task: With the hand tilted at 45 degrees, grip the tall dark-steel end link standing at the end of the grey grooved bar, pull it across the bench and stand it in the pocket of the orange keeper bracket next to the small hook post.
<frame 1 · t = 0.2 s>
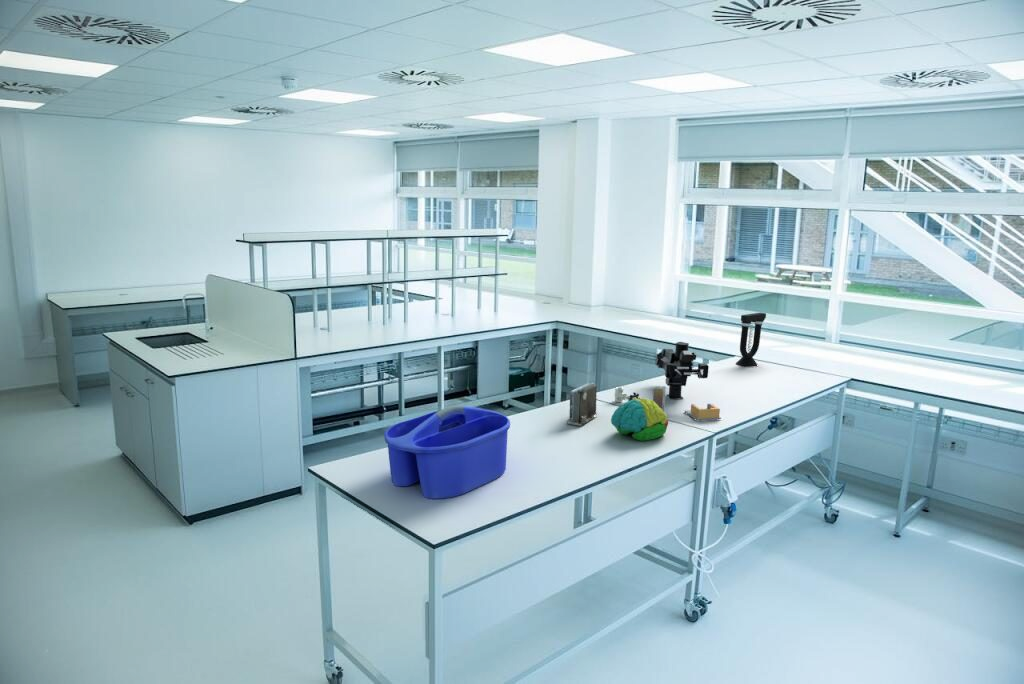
hand: (691, 376, 280), 17 cm above the table, tool horizontal, fingers open, 9 cm apart
keeper bracket: (702, 416, 279), on the table
end link: (657, 416, 278), on the table
grey grooved bar: (641, 407, 291), on the table
caddy: (449, 475, 214), on the table
brain model: (638, 436, 254), on the table
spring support: (748, 364, 379), on the table
valve: (624, 404, 297), on the table
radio: (581, 419, 275), on the table
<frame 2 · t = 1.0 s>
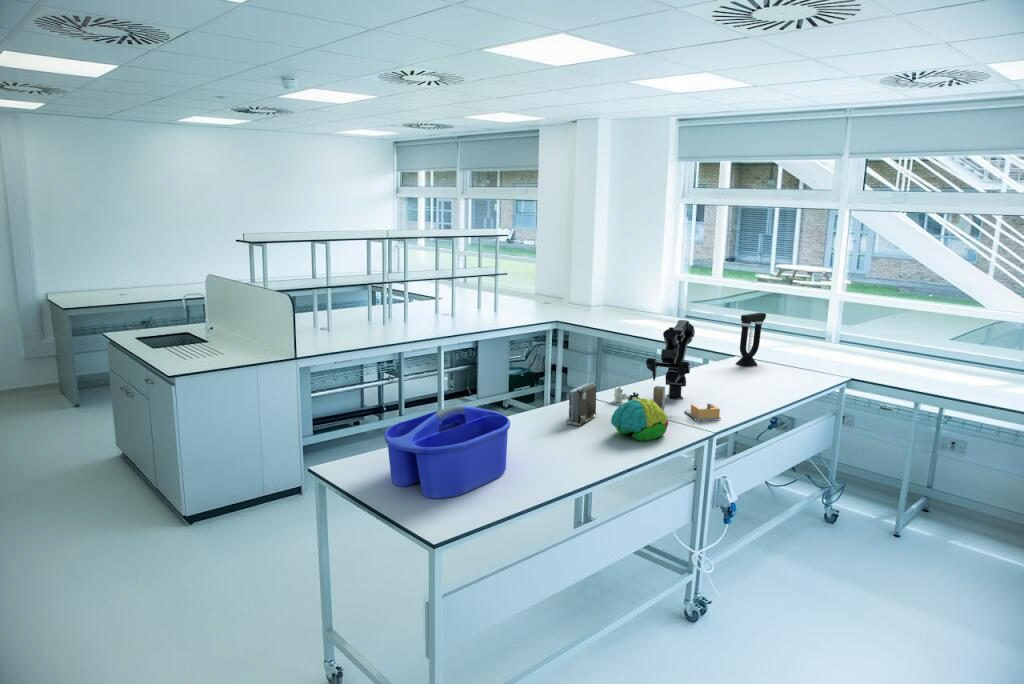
hand: (664, 381, 282), 14 cm above the table, tool tilted 45°, fingers open, 9 cm apart
nothing on the table moved.
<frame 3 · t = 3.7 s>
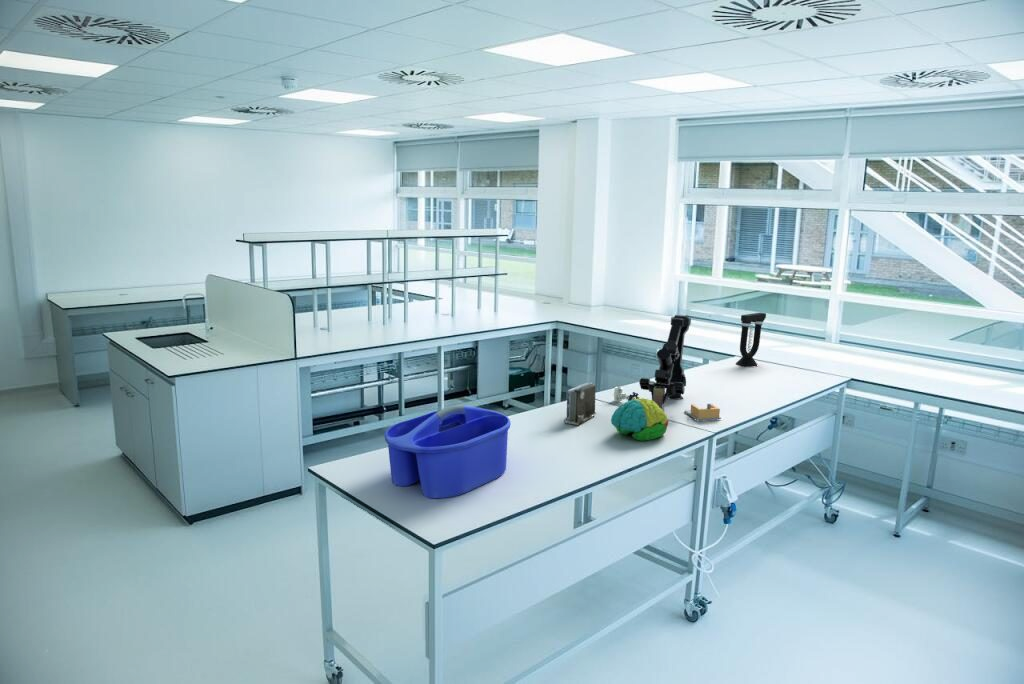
hand: (657, 402, 275), 7 cm above the table, tool tilted 45°, fingers closed on end link, 4 cm apart
end link: (657, 416, 278), on the table, touching gripper
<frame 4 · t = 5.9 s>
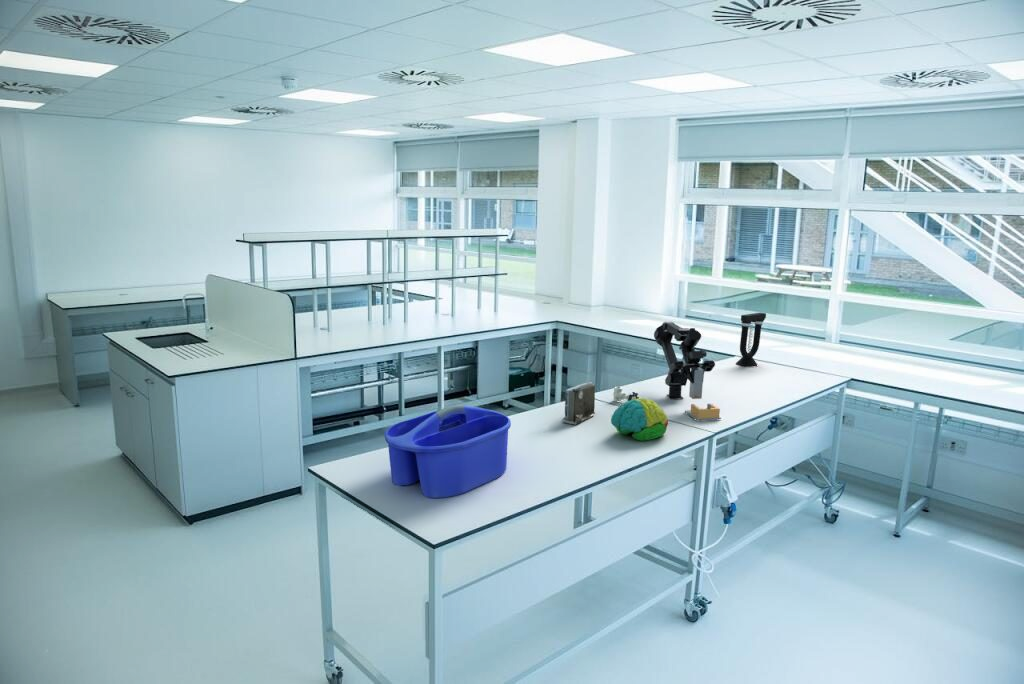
hand: (697, 382, 282), 13 cm above the table, tool tilted 45°, fingers closed on end link, 4 cm apart
end link: (695, 397, 285), point 6 cm above the table, touching gripper
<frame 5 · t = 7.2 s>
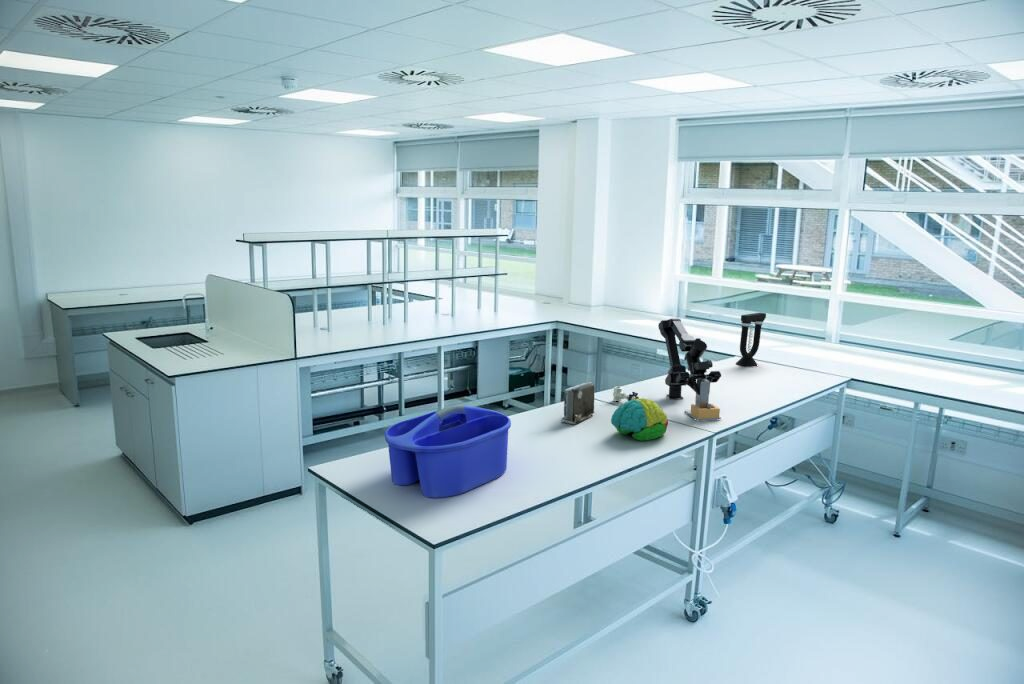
hand: (703, 394, 277), 10 cm above the table, tool tilted 45°, fingers closed on end link, 4 cm apart
end link: (701, 409, 280), point 3 cm above the table, touching gripper
when the fingers open (8 cm above the table, at t = 8.2 s): end link stays where it is, resting on keeper bracket.
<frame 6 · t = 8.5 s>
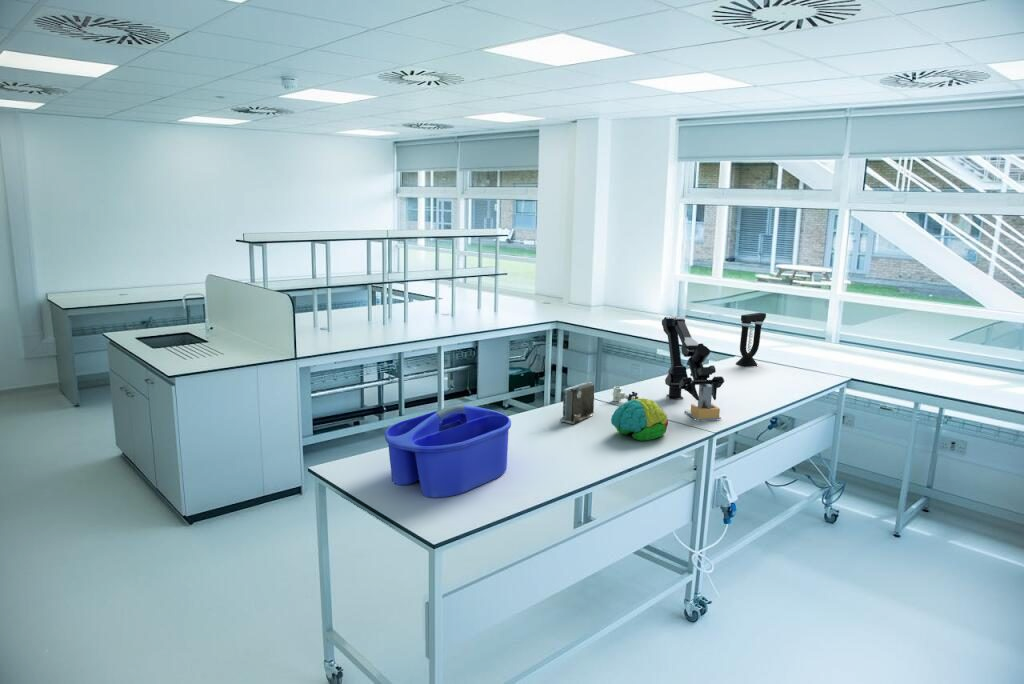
hand: (706, 399, 275), 8 cm above the table, tool tilted 45°, fingers open, 7 cm apart
end link: (703, 414, 278), point 1 cm above the table, touching keeper bracket
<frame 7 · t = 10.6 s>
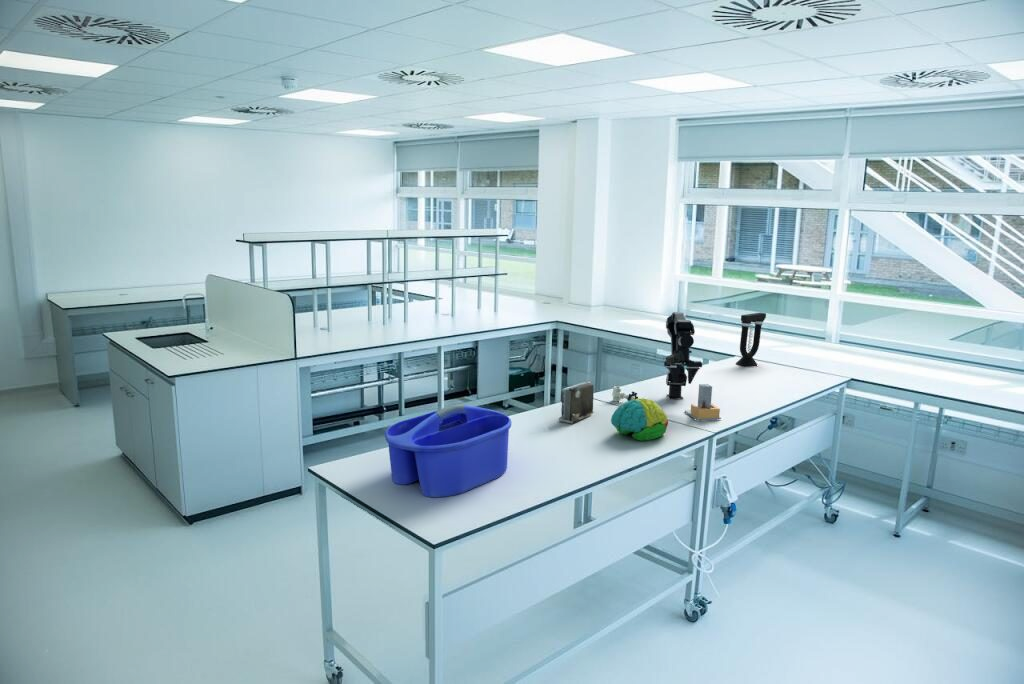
hand: (682, 383, 287), 12 cm above the table, tool pointing down, fingers open, 9 cm apart
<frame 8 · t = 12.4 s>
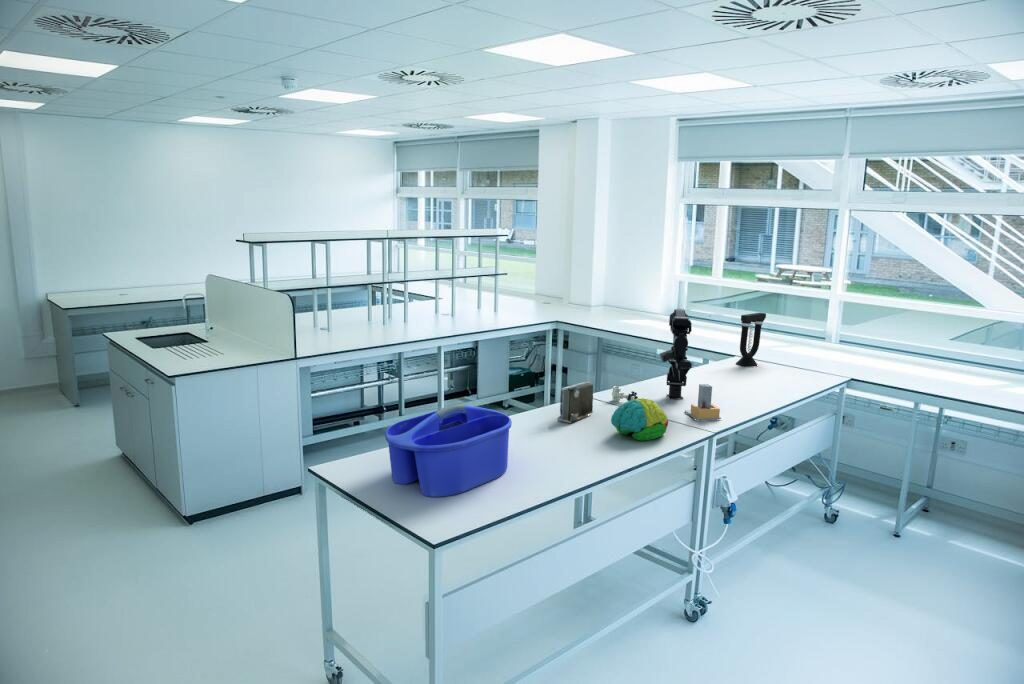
hand: (677, 379, 289), 13 cm above the table, tool pointing down, fingers open, 9 cm apart
at the end: end link 0.5 cm from the target spot on the keeper bracket, point 1.0 cm above the keeper bracket's base; end link tilted 0°; the gripper is holding nothing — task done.
